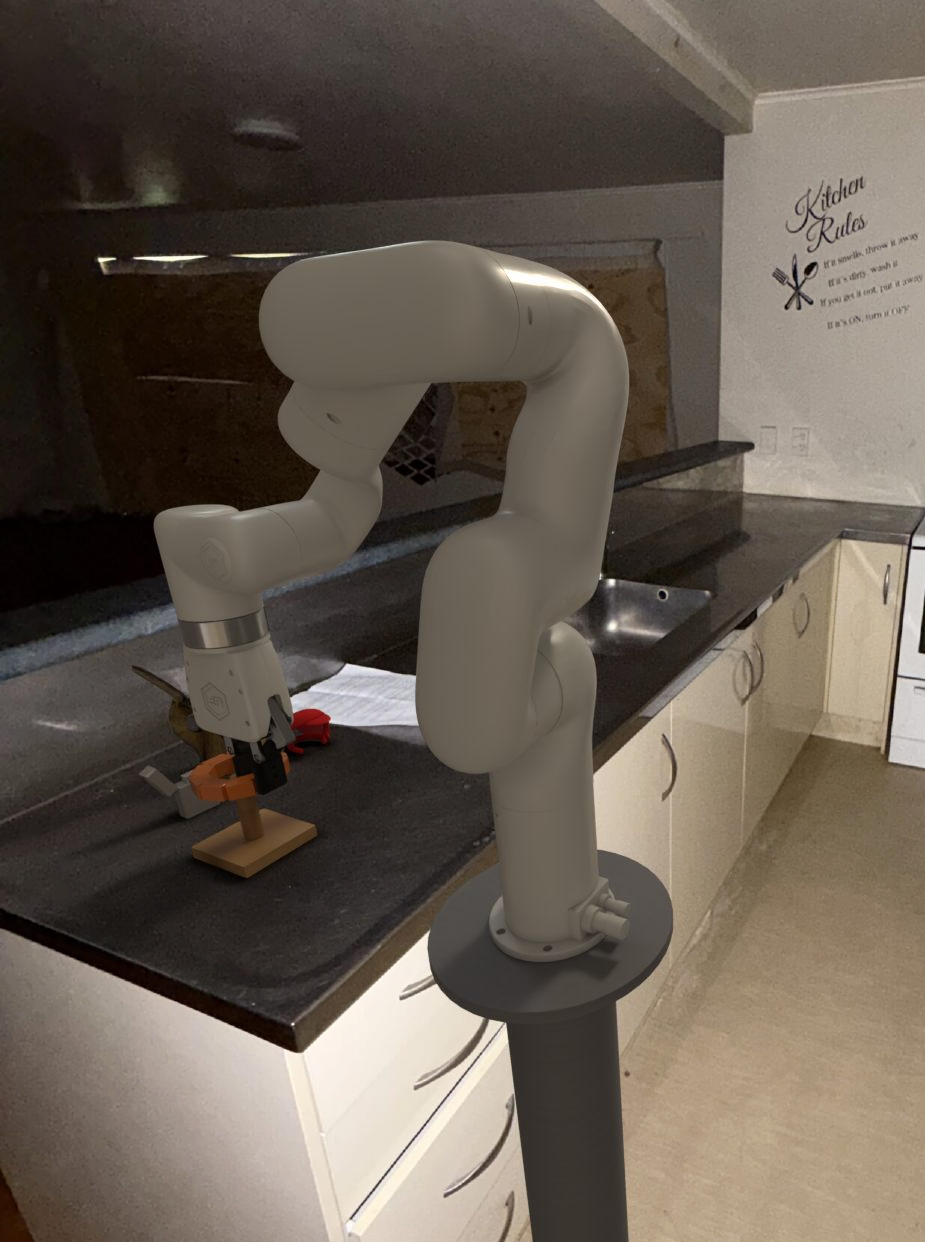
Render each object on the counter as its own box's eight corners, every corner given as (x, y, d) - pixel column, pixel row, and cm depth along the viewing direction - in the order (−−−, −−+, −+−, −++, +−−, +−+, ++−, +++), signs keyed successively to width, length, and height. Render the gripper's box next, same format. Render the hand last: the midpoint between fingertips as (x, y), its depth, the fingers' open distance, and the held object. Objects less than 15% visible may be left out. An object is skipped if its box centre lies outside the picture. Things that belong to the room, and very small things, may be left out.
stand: (317, 835, 90) (302, 765, 86) (246, 878, 82) (227, 803, 79) (266, 818, 93) (249, 750, 90) (193, 858, 86) (172, 785, 82)
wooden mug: (151, 783, 101) (113, 658, 95) (253, 744, 112) (226, 630, 105) (183, 802, 97) (146, 672, 90) (287, 759, 107) (260, 641, 101)
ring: (308, 768, 87) (305, 754, 86) (230, 809, 79) (226, 794, 78) (253, 753, 90) (250, 740, 89) (173, 791, 82) (169, 777, 81)
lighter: (213, 799, 97) (198, 744, 94) (221, 803, 96) (206, 747, 94) (153, 827, 91) (136, 769, 88) (161, 831, 90) (144, 772, 88)
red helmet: (271, 757, 108) (262, 719, 106) (291, 738, 113) (284, 702, 111) (327, 756, 108) (320, 719, 106) (345, 738, 114) (338, 702, 112)
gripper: (138, 629, 76) (183, 787, 83) (243, 651, 70) (283, 819, 77) (210, 609, 83) (247, 757, 89) (313, 628, 77) (344, 785, 83)
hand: (263, 784), depth 83 cm, fingers closed on ring, 2 cm apart
